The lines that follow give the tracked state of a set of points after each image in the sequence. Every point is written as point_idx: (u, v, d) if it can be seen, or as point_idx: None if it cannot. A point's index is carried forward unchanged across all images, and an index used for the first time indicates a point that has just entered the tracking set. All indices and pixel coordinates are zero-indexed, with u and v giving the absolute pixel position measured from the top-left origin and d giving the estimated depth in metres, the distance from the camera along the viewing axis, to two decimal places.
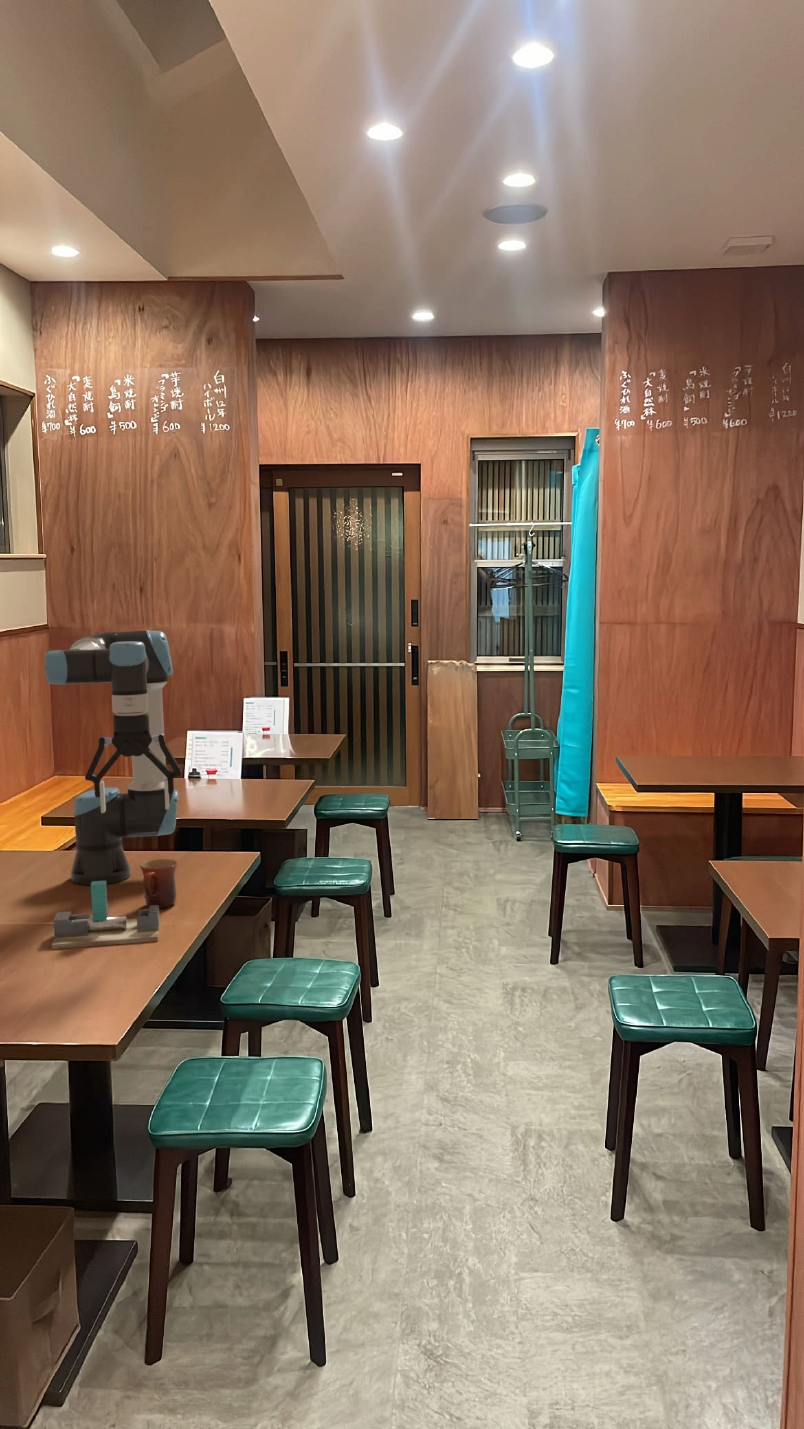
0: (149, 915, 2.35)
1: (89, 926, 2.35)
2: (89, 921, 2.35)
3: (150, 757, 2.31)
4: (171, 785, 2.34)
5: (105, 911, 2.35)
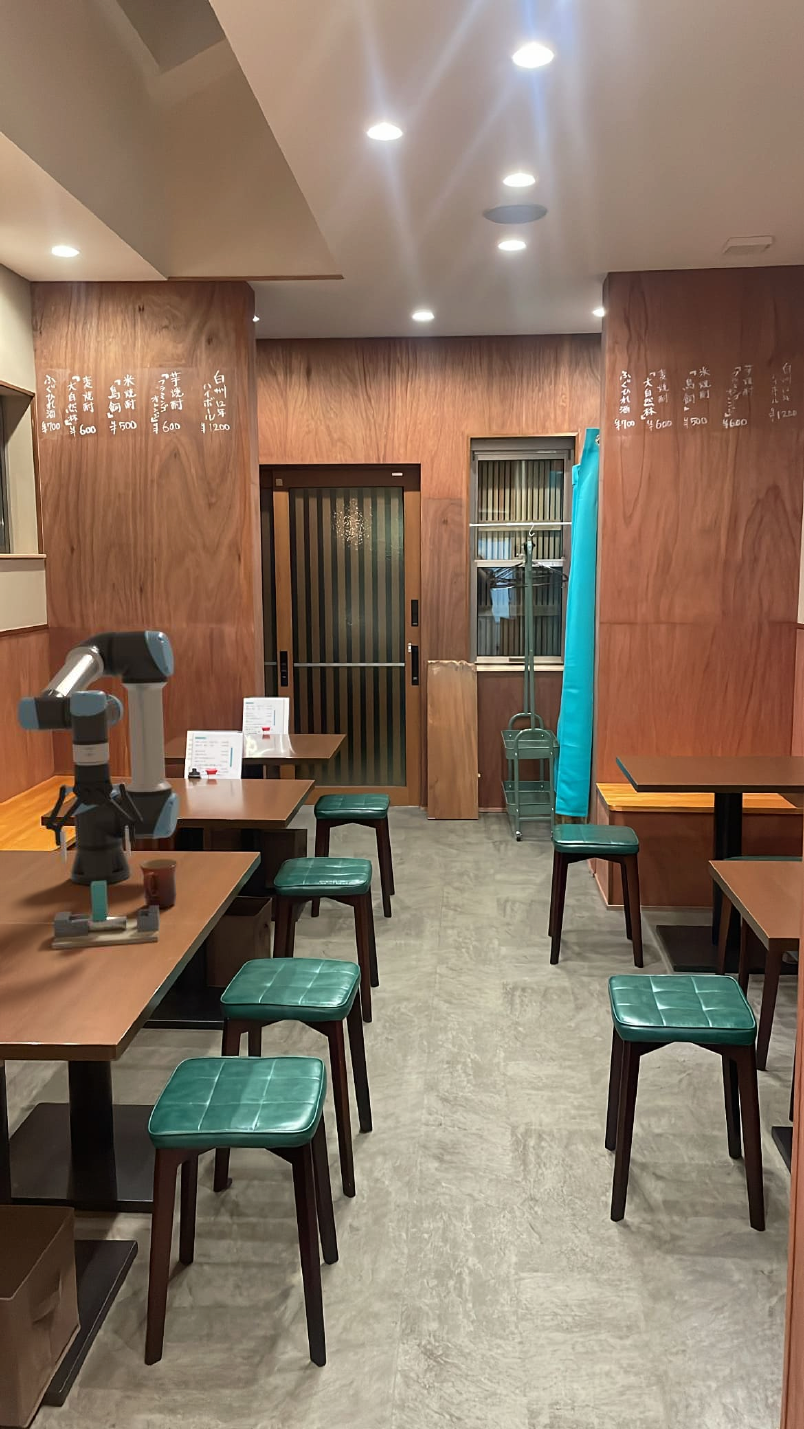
0: (149, 915, 2.35)
1: (89, 926, 2.35)
2: (89, 921, 2.35)
3: (111, 806, 2.32)
4: (132, 833, 2.34)
5: (105, 911, 2.35)
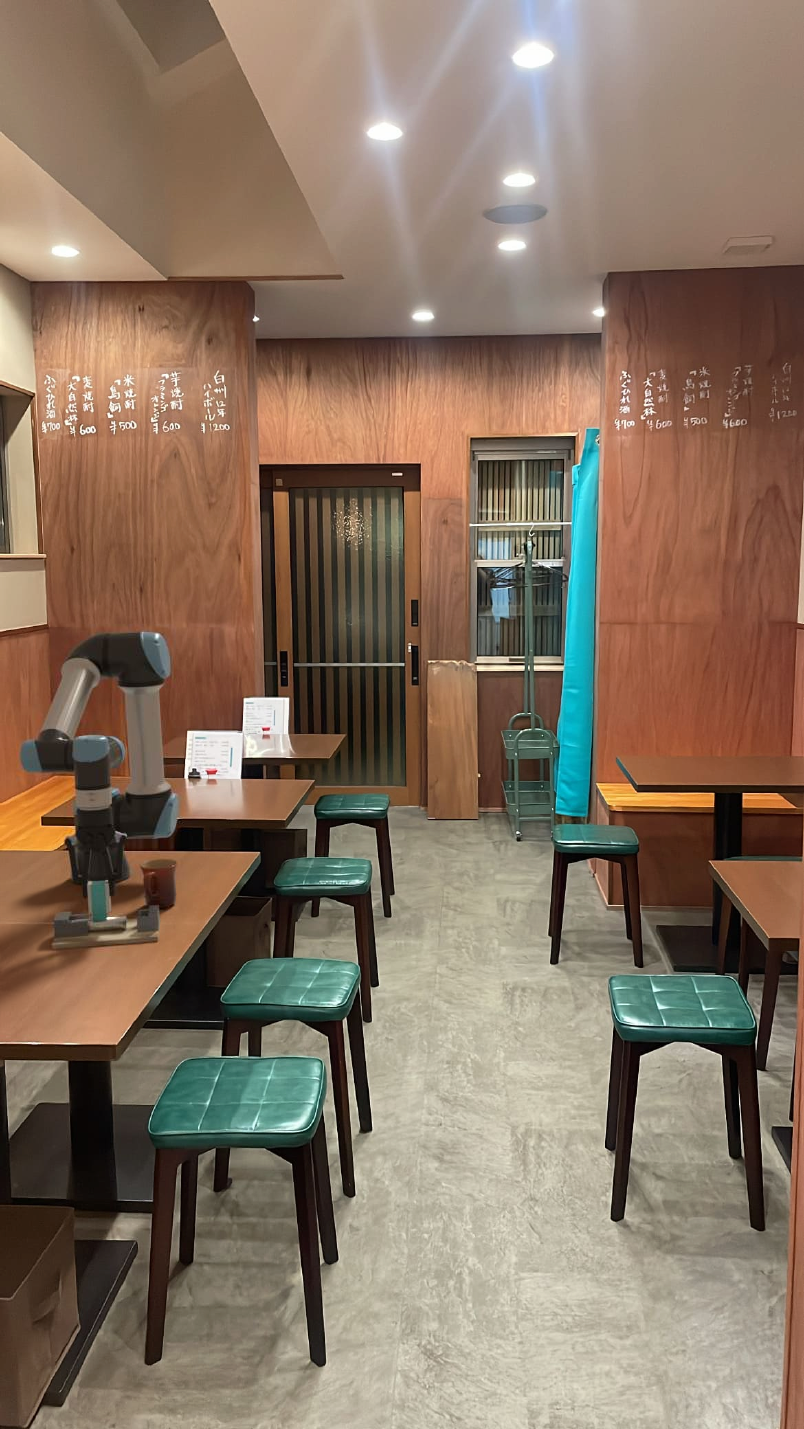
0: (149, 915, 2.35)
1: (89, 926, 2.35)
2: (89, 921, 2.35)
3: (104, 854, 2.33)
4: (112, 888, 2.35)
5: (105, 911, 2.35)
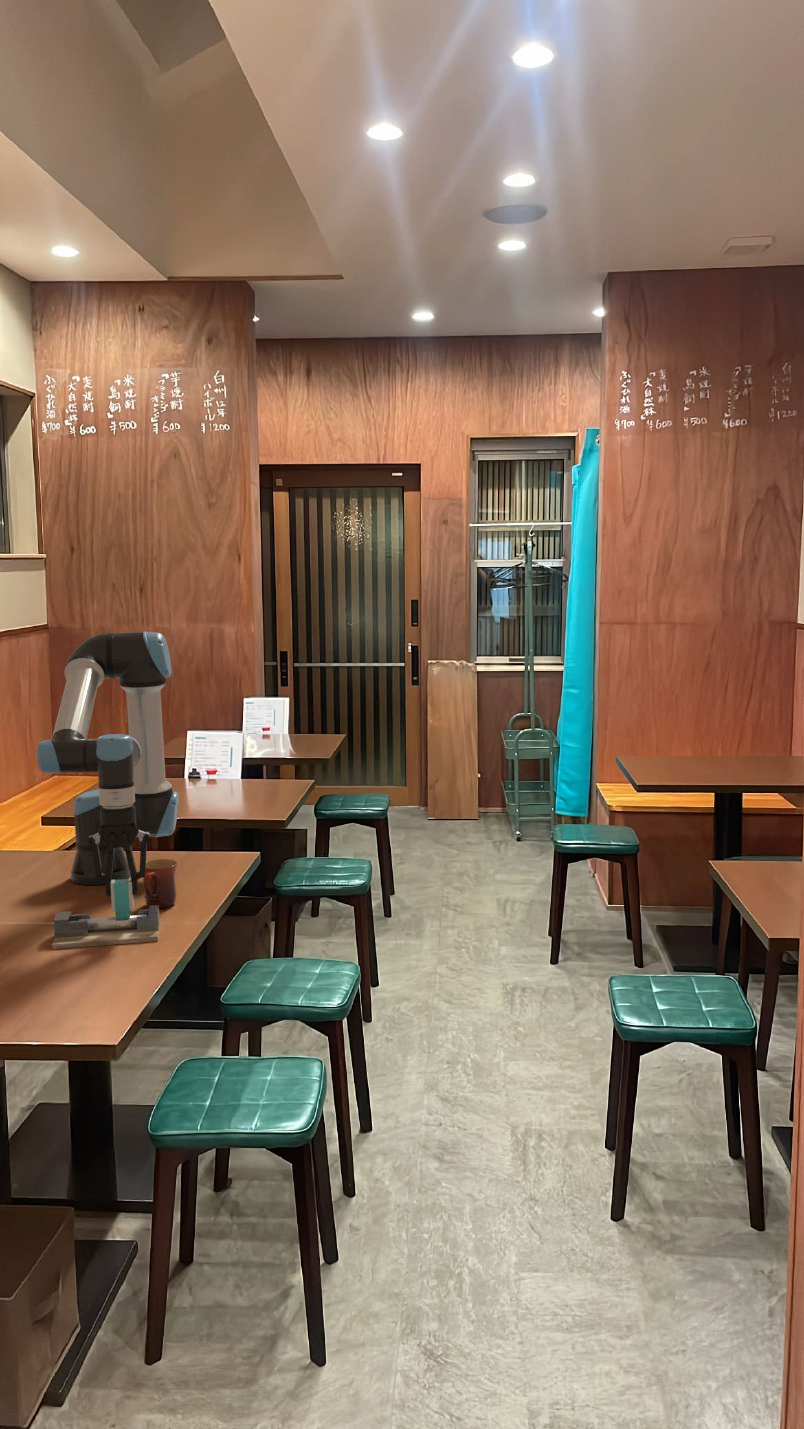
0: (149, 915, 2.35)
1: (112, 924, 2.35)
2: (112, 919, 2.36)
3: (127, 853, 2.34)
4: (135, 886, 2.36)
5: (128, 909, 2.36)
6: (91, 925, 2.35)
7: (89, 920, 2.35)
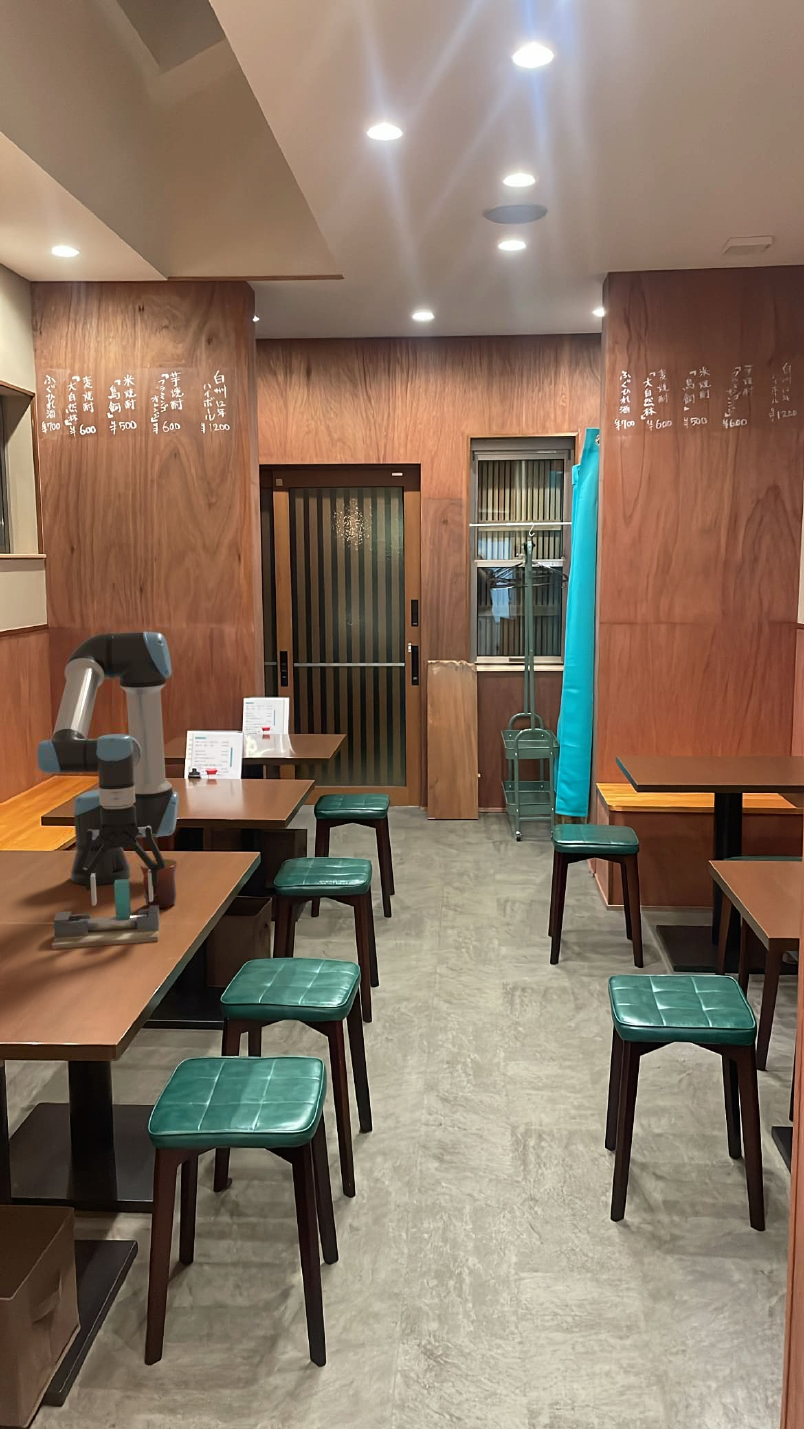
0: (149, 915, 2.35)
1: (112, 924, 2.35)
2: (112, 919, 2.36)
3: (136, 849, 2.35)
4: (155, 878, 2.37)
5: (128, 909, 2.36)
6: (91, 925, 2.35)
7: (89, 920, 2.35)
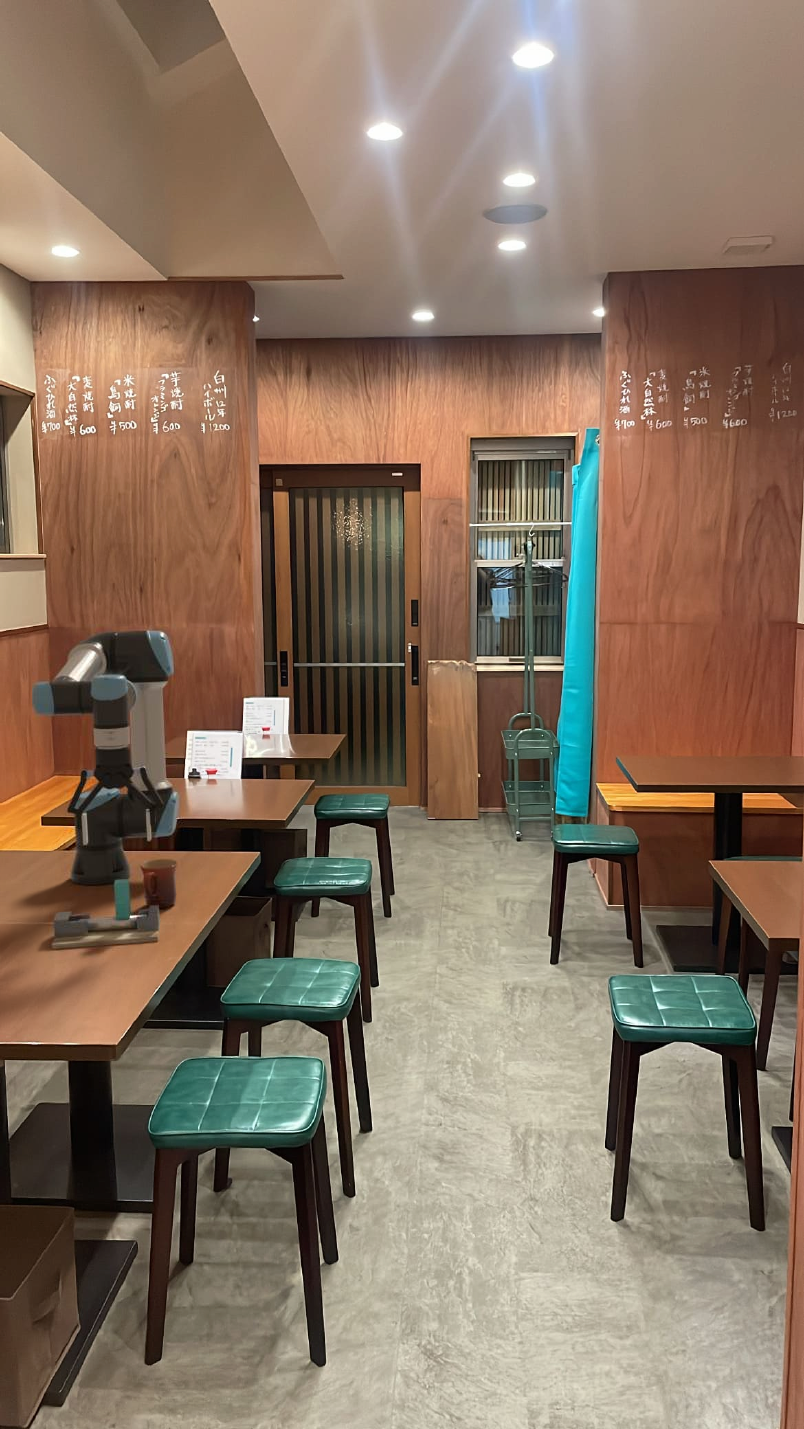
0: (149, 915, 2.35)
1: (112, 924, 2.35)
2: (112, 919, 2.36)
3: (132, 789, 2.33)
4: (153, 817, 2.36)
5: (128, 909, 2.36)
6: (91, 925, 2.35)
7: (89, 920, 2.35)
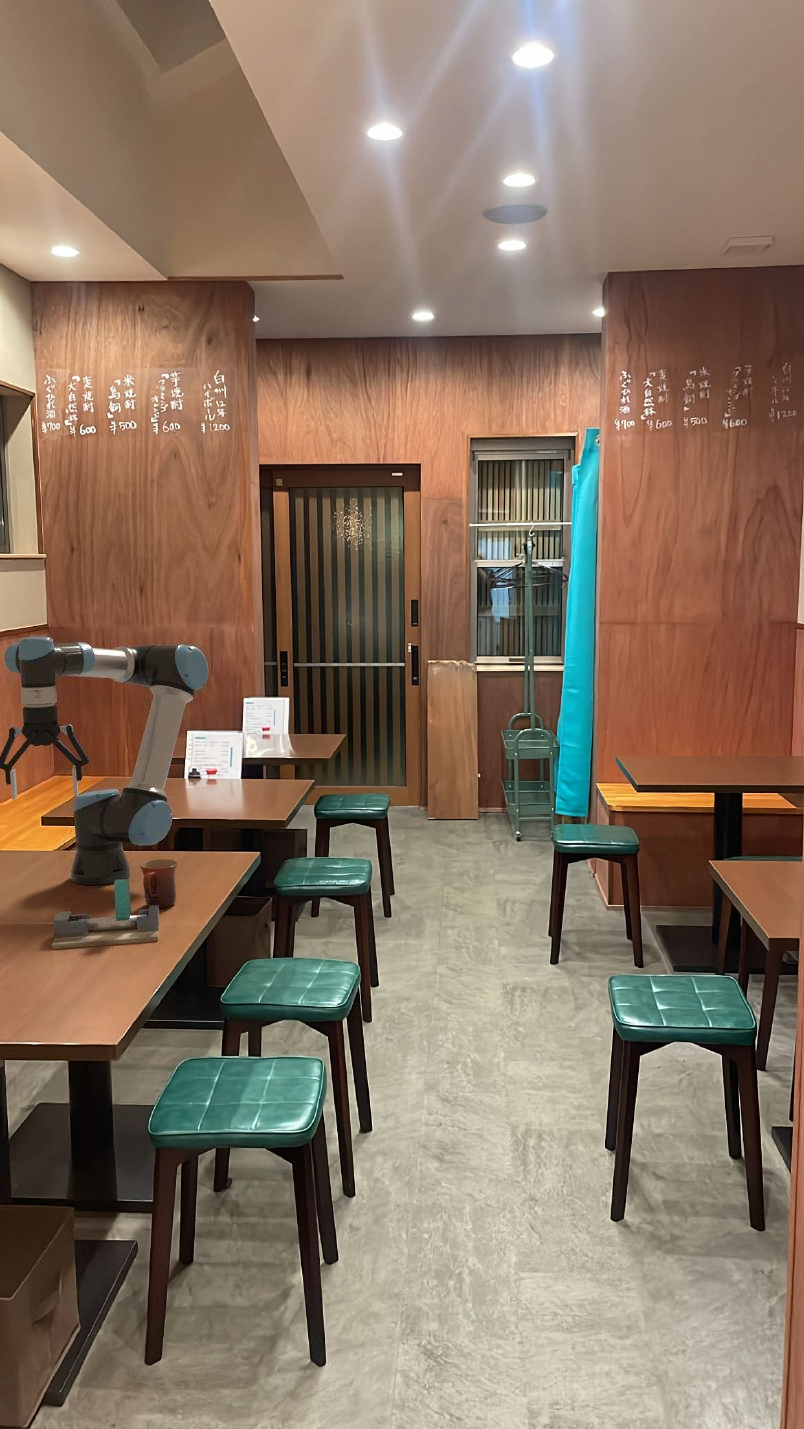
0: (149, 915, 2.35)
1: (112, 924, 2.35)
2: (112, 919, 2.36)
3: (58, 746, 2.44)
4: (79, 773, 2.47)
5: (128, 909, 2.36)
6: (91, 925, 2.35)
7: (89, 920, 2.35)
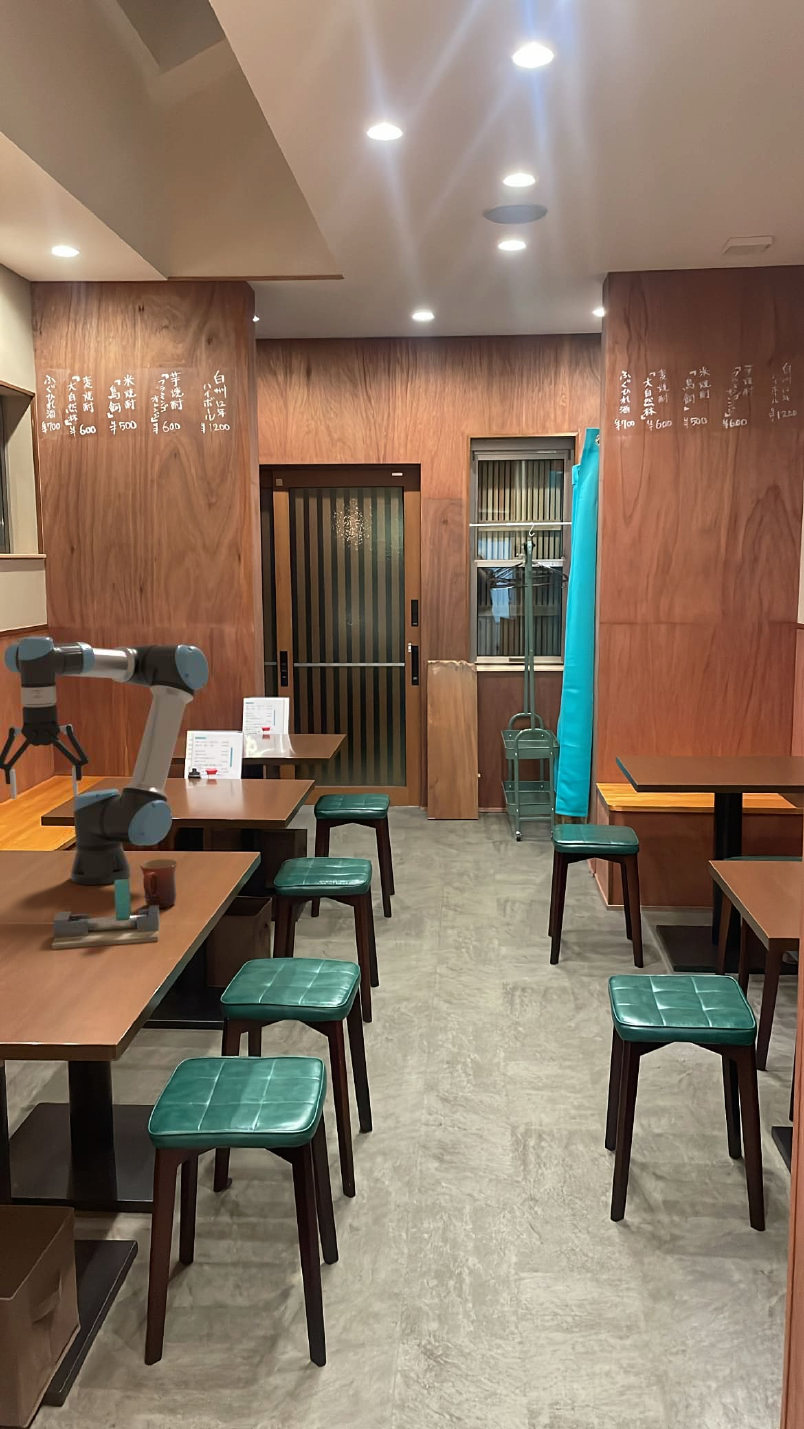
0: (149, 915, 2.35)
1: (112, 924, 2.35)
2: (112, 919, 2.36)
3: (58, 746, 2.44)
4: (79, 773, 2.46)
5: (128, 909, 2.36)
6: (91, 925, 2.35)
7: (89, 920, 2.35)
